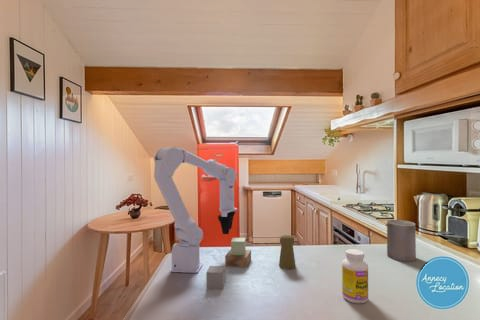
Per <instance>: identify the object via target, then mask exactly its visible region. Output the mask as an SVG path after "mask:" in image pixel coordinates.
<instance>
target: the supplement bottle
mask: <svg viewBox="0 0 480 320" xmlns="http://www.w3.org/2000/svg"><path fill="white" fill-rule="evenodd" d="M345 257H346V258H344V259H343V260H342V263H341V266H342V267H341V270H342V271H341V274H342V276H341V278H342V280H341V281H342V283H341V286H342V290H341V291H342V292H341V293H342V296H343V298H344V299H345V300H346V301H348V302H351V303H353V304H365V303H367V302H368V300H369V266H368V265H369V264H368V263H367V262H366V261H365V260H364V259H365V252H364V251H362V250H360V249H356V248H354V249H353V248H352V249H351V248H349V249H346V250H345Z"/></svg>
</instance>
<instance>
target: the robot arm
mask: <svg viewBox="0 0 480 320" xmlns="http://www.w3.org/2000/svg"><path fill="white" fill-rule="evenodd" d="M153 162H154V172H153V173H154V175H153V178H154V181H155V183H156V185H157V187H158V189H159V190H160V193H161V195H162V197H163V199H164V201H165V203H166V205H167V207H168V210H169V211H170V214H171V216H172V218H173V220H174V228H175V236H176V238H177V239H178V243H177V242H176V243H174V244H173V245H172V248H171V270H170V272H171V273H187V274H188V273H189V274H193V273H195V274H196V273H198V272H199V271H200V269H201V268H202V266H203V265H204V263H203V262H200V260H201V259H200V257H201V256H200V255H201V254H200V243H201V242H202V240H203V238H204V231H203V229H202V228H201V227H199V226H198V225H197V222H196V221H195V220H194V219H193V218H192V217H191V216H190V213H189V211H188V208H187V207H186V205H185V202H184V201H183V199H182V196H181V194H180V192H179V189H178V188H177V186H176V184H175V182H174V179H173V176H174V174H175V172H176V170H177V169H178V168H179V166H180V165H181V164H185V163H186V164H189V165H192V166H194V167H197V168H198V169H199V168H200V169H202V170H203V173H204V174H206V175H208V176H210V177H213V178H215V179H217V180H218V181H219V208H218V209H219V212H220V213H221V214H218V215H217V219H218V221H219V223H220V228H221V232H222V235H229V234H230V230H231V229H232V227H233V220H234V217H235V215H236V211H237V210H238V208H237V207H235V183H236V179H237V177H238V174H237V171H236V170H235V168H233V167H231V166H226V164H225V163H220V162H218V161H217V159H215V158H212V159H211V158H209V159H208V160H205V159H203V157H202V158H201V157H200V156H197V155H196V154H194V153H191V152H190V151H188V150H186V149H184V148H179V147H178V146H172V147H163V148H160V149H158V150H157V151H156V154H155V156H154V157H153Z"/></svg>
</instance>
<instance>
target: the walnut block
mask: <svg viewBox="0 0 480 320" xmlns="http://www.w3.org/2000/svg"><path fill="white" fill-rule="evenodd" d="M224 257H225V258H224V260H225V261H224V263H225V265H224V266H225V267H236V268H245V269H247V268H248V266H249V264H250V263H251V262H252V250H251V249H246V251H245V255H231V249H230V250H228V252H227V253H226V254H225V255H224ZM249 262H250V263H249Z"/></svg>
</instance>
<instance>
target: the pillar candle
mask: <svg viewBox="0 0 480 320" xmlns="http://www.w3.org/2000/svg"><path fill="white" fill-rule="evenodd" d="M386 236H387V237H386V240H387V241H386V250H387V251H386V255H387V257H388V258H390V259H392V260H394V261H398V262H405V263H406V262H407V263H408V262H413V261H416V260H417V259H416V257H417V256H416V255H417V254H416V253H417V251H416V250H417V249H416V248H417V247H416V239H417V238H416V236H417V235H416V223H415V222H413V221H409V220H404V219H401V218H400V219H389V220H387V221H386Z"/></svg>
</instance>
